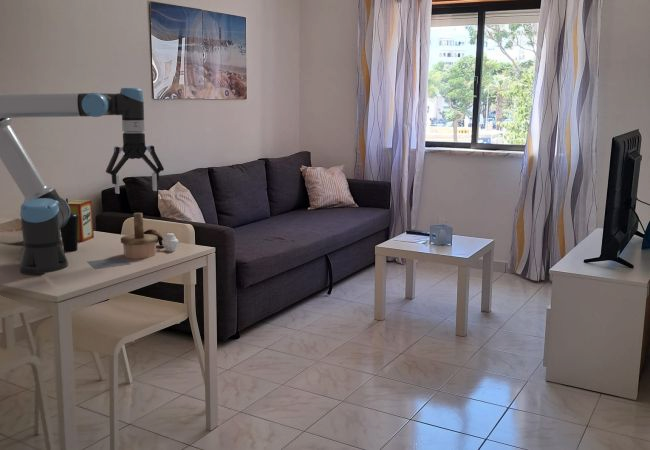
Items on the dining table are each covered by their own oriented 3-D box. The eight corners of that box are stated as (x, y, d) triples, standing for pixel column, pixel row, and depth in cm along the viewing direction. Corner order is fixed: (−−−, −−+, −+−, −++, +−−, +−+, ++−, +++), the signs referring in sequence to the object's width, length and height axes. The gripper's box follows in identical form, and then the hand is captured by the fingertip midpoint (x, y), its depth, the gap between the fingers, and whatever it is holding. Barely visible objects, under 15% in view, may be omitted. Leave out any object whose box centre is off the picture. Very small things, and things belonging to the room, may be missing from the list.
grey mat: (95, 271, 223) (95, 268, 223) (86, 263, 233) (86, 261, 233) (131, 266, 229) (131, 264, 229) (121, 259, 239) (121, 257, 239)
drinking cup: (56, 250, 254) (52, 198, 250) (76, 247, 259) (72, 196, 255) (64, 253, 248) (60, 200, 244) (84, 250, 253) (80, 198, 249)
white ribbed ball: (162, 249, 255) (161, 231, 254) (178, 248, 257) (177, 230, 256) (162, 252, 249) (161, 234, 248) (179, 251, 251) (178, 233, 250)
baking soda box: (82, 242, 267) (79, 203, 264) (67, 241, 268) (64, 202, 265) (93, 237, 276) (91, 199, 273) (79, 236, 277) (76, 199, 274)
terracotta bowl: (129, 262, 235) (129, 245, 234) (120, 255, 244) (119, 239, 243) (160, 258, 241) (159, 241, 240) (150, 252, 250) (149, 236, 249)
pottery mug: (166, 251, 255) (155, 234, 251) (144, 261, 255) (133, 244, 252) (168, 236, 266) (157, 220, 262) (147, 247, 266) (136, 231, 262)
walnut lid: (127, 246, 233) (125, 217, 231) (116, 239, 244) (114, 212, 242) (162, 242, 240) (161, 214, 238) (151, 235, 250) (149, 209, 249)
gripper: (100, 133, 225) (104, 195, 229) (171, 132, 238) (173, 190, 242) (94, 132, 231) (98, 193, 235) (164, 131, 244) (166, 188, 248)
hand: (136, 192), depth 238 cm, fingers open, 13 cm apart
